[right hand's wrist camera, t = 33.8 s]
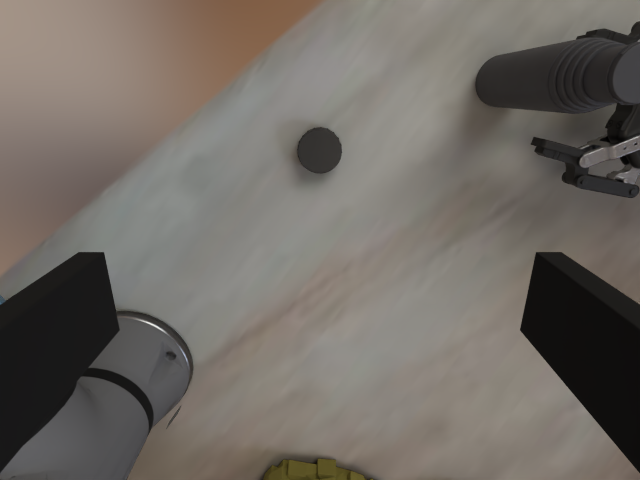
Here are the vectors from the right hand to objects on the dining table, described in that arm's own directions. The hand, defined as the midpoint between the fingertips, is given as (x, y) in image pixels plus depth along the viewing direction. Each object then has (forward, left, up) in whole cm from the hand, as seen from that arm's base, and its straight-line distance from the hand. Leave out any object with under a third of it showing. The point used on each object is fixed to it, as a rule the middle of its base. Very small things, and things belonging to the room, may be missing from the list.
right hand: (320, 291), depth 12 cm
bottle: (+15, +12, -32) cm, 38 cm away
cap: (0, 0, -31) cm, 31 cm away
